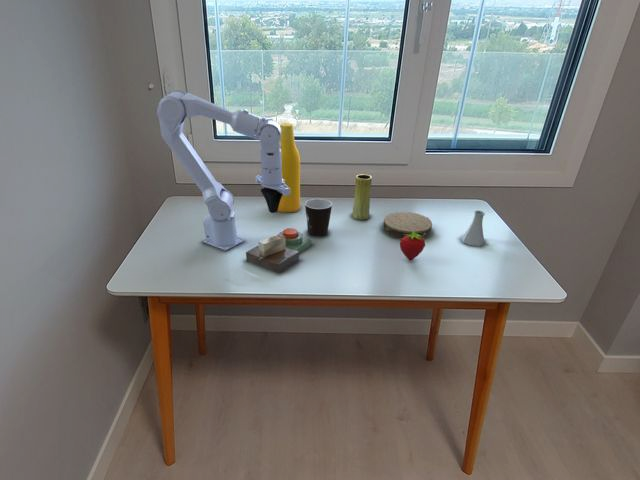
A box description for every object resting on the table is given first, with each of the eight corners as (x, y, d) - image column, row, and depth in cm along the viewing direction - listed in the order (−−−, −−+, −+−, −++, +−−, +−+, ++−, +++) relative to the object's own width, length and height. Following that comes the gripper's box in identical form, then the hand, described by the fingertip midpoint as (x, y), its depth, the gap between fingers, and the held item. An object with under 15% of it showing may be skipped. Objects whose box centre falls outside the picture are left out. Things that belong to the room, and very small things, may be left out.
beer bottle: (292, 214, 159) (292, 129, 142) (270, 209, 162) (266, 125, 145) (304, 206, 166) (305, 123, 149) (282, 201, 169) (281, 120, 152)
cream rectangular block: (264, 257, 126) (263, 243, 124) (259, 253, 128) (258, 240, 125) (285, 249, 130) (285, 236, 128) (280, 246, 132) (280, 233, 129)
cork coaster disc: (373, 227, 152) (374, 219, 150) (404, 216, 160) (405, 208, 159) (409, 244, 142) (411, 236, 140) (440, 231, 151) (442, 223, 149)
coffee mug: (328, 239, 143) (329, 210, 137) (301, 236, 144) (302, 207, 139) (334, 225, 152) (335, 196, 147) (309, 222, 154) (310, 194, 148)
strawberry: (394, 255, 135) (399, 225, 130) (418, 254, 136) (424, 224, 131) (400, 265, 131) (405, 234, 125) (425, 264, 132) (430, 233, 126)
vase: (372, 215, 160) (376, 176, 152) (364, 221, 156) (367, 181, 148) (357, 211, 163) (360, 172, 155) (348, 217, 158) (351, 177, 150)
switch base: (243, 262, 129) (243, 252, 128) (269, 247, 138) (269, 238, 136) (276, 275, 124) (275, 265, 122) (301, 259, 132) (301, 249, 130)
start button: (280, 236, 137) (280, 231, 136) (289, 231, 140) (289, 226, 139) (291, 240, 135) (291, 235, 134) (300, 235, 138) (300, 230, 137)
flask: (485, 239, 147) (493, 210, 141) (482, 248, 141) (490, 218, 135) (463, 234, 149) (469, 206, 143) (459, 243, 144) (465, 214, 138)
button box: (269, 245, 139) (269, 235, 137) (285, 236, 144) (285, 226, 142) (295, 254, 134) (295, 244, 132) (311, 245, 140) (311, 234, 138)
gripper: (298, 170, 124) (299, 216, 132) (268, 158, 133) (270, 201, 141) (278, 175, 120) (279, 222, 128) (248, 162, 129) (251, 206, 137)
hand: (273, 211), depth 134 cm, fingers closed
